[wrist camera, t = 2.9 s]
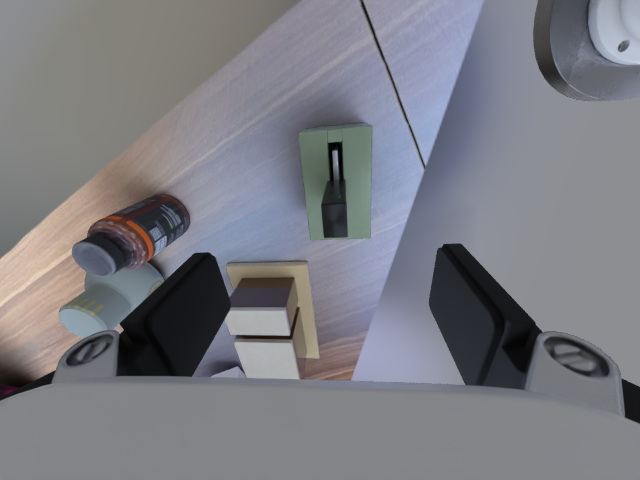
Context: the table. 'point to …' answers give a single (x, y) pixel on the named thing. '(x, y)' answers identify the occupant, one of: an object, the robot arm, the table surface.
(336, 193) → the knife
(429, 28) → the table surface
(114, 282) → the air freshener
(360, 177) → the knife block
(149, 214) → the supplement bottle
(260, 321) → the cake
